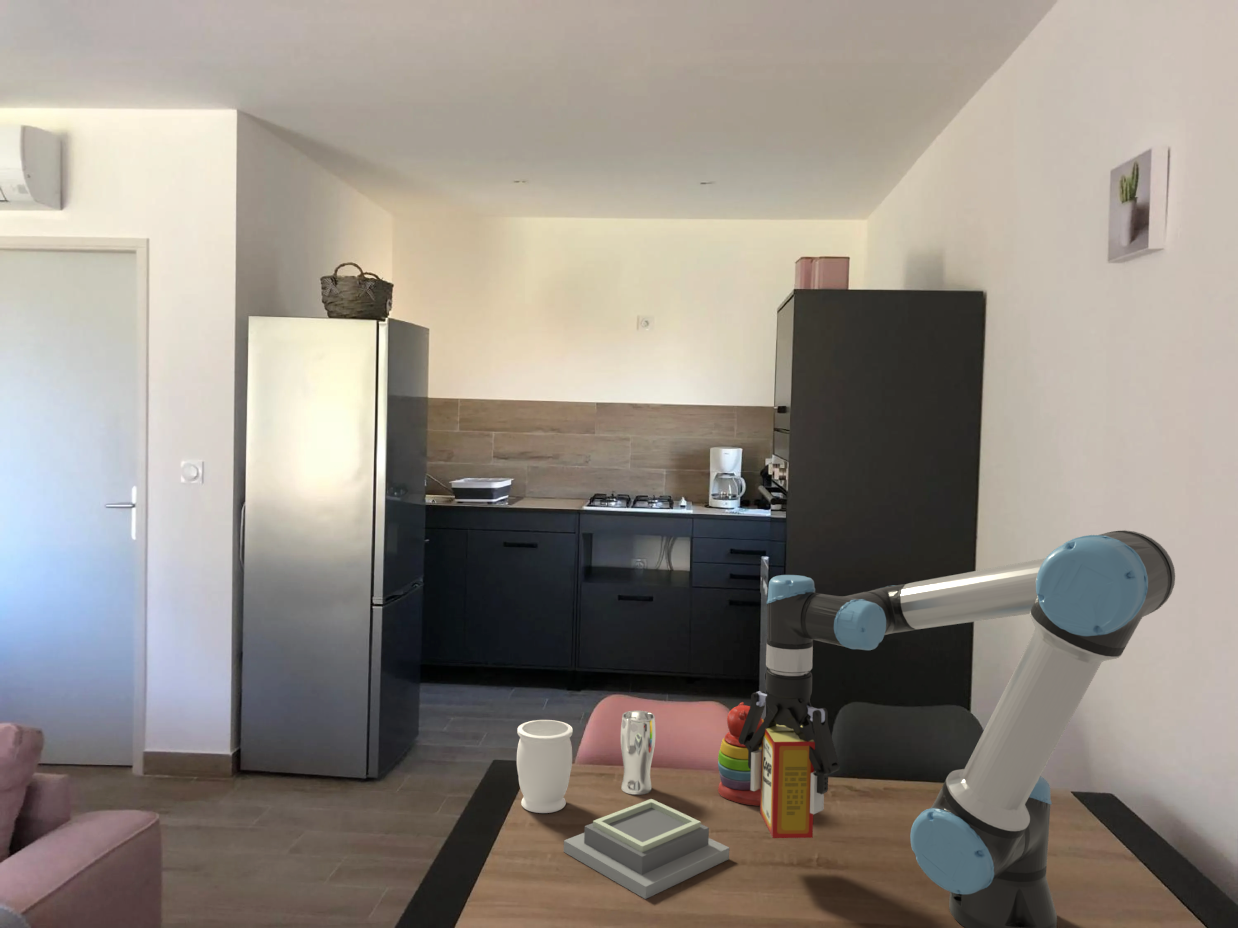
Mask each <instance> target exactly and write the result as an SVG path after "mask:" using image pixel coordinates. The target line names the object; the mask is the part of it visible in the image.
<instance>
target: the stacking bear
mask: <svg viewBox="0 0 1238 928" xmlns="http://www.w3.org/2000/svg"><path fill="white" fill-rule="evenodd" d="M750 706H751V705H745V703H744V702H743V701H742V702H740V703H739V704H738V705H737V706H735V707H733V708H732V709H731V710H729V712H728V714H727V718H726V722H727V728H728V732H727V733H726V734H725V735H724V737H723V738H722V740H721V742H720V743H721V744H720V749H719V750H718V757H717V760H718V761H717V766H718V767H717V768H718V771H719V778H720V782H719V784H718V789H717V791H718V792H717V793H718V794H719V795H720V796H721V797H723V798H724V799H726V800H729V801H732V802H735V803H738V804H743V805H749V806H756V807H757V806H758V807H760V796H761V789H759V790H756V791H752V790H751V769H750V768H749V767H748V749H747V747H746V746H745V745H744V744H740V743H739V737H740V734H741V731H742V728H743V726H744V723H745V720H746V717H747V715H748V712H749V709H750ZM763 722H764V718H762V717H761V718H760V721H759V724H758V727H757V729H756V732H757V730H758V729H759V727H760V726H761V724H762V723H763ZM756 732H755V733H756ZM761 748H762V747H760V748H759V749H761Z"/></svg>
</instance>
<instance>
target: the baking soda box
mask: <svg viewBox="0 0 1238 928" xmlns="http://www.w3.org/2000/svg"><path fill="white" fill-rule="evenodd" d="M801 727H804V725H803V724H802V725H801ZM809 745H810V746H811V747H812V748H813V749H814V750H815V742H814V741H813V740H810V741H808V742H807V741H804V740H801V739H800V738H799V736H798V735H796V734H795V732H794V730H793V729H790V728H788V727H786V726H784V725H776V726H773V727H770V728H767V729H766V728H765V734H764V737H763V740H762V748H761V796H760V806H759V810H760V811H759V814H760V816H761V818H762V820H763V822H764V824H765V826H766V828H767V830H768V832H769V834H770V836H771V838H772V839H808V838H809V839H812V838H813V835H814V833H813V832H814V814H812V813H810V786H811V773H812V772H814V771H815V770H814V768H813V765H812V763H811V761H810V759H809Z"/></svg>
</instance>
